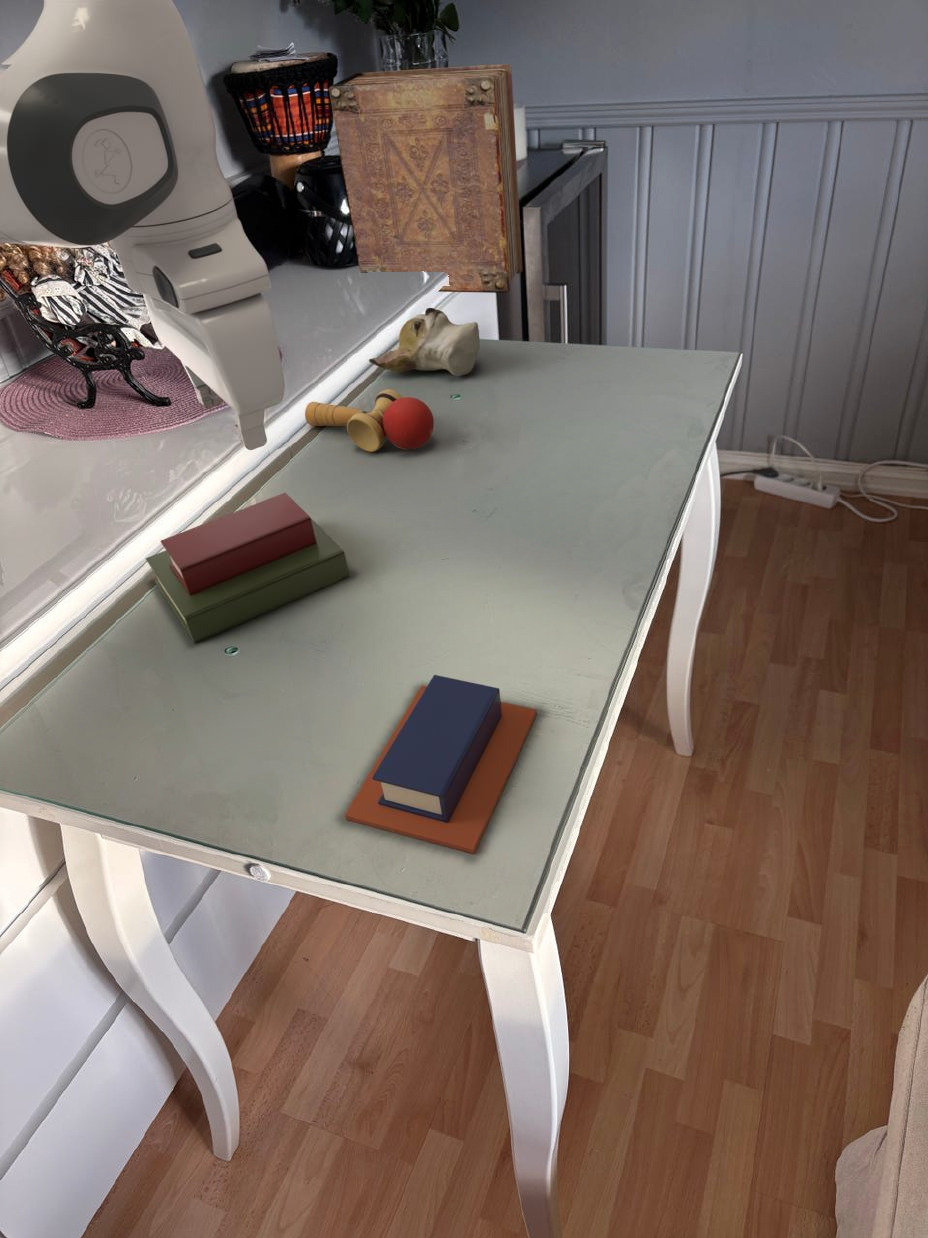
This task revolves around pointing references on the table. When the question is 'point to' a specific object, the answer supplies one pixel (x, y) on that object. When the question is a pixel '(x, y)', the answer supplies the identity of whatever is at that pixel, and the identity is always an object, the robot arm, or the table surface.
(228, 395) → the robot arm
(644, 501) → the table surface
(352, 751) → the table surface
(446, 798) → the navy book
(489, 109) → the book
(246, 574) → the olive book
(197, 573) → the burgundy book
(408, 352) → the ceramic sculpture
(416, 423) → the kendama
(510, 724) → the rubber mat
